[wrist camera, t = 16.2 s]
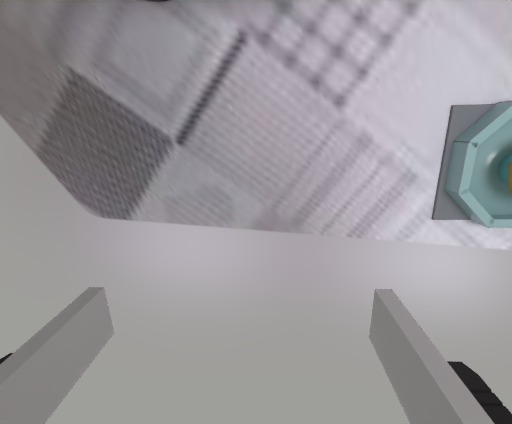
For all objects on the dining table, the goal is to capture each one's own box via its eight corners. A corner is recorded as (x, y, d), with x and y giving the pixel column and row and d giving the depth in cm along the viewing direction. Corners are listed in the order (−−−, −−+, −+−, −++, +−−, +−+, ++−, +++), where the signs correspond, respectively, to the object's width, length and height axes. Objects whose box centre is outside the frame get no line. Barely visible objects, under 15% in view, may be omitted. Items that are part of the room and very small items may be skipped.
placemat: (451, 105, 36) (453, 105, 35) (595, 101, 35) (598, 100, 34) (431, 218, 40) (433, 219, 40) (558, 217, 39) (560, 218, 39)
